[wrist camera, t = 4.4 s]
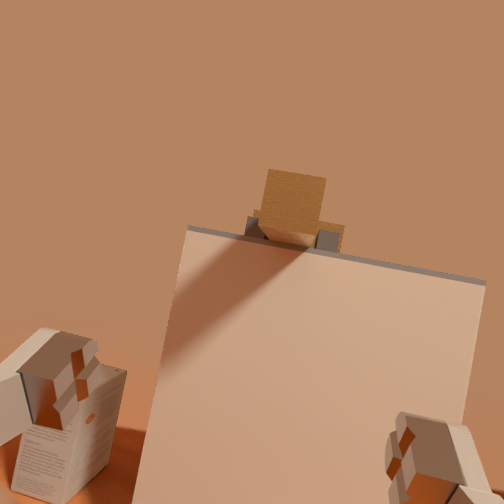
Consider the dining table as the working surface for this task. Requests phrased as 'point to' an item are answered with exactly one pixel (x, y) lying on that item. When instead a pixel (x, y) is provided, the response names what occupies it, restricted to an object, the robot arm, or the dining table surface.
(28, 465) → the small box
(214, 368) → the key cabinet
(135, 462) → the dining table surface
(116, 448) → the dining table surface
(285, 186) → the wooden t-shaped block
